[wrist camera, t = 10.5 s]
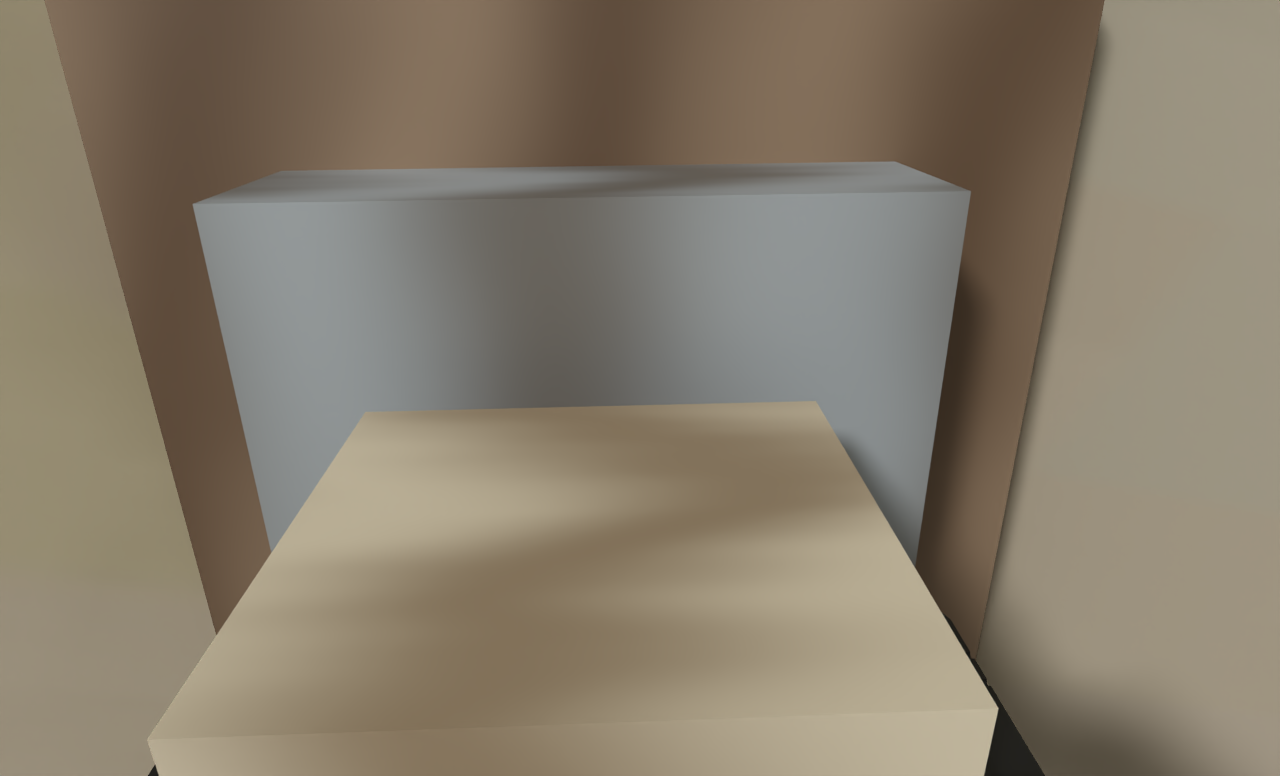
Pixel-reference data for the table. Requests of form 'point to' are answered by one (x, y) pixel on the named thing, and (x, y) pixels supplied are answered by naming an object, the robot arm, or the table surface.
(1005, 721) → the robot arm
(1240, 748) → the table surface
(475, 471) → the maple block
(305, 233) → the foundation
